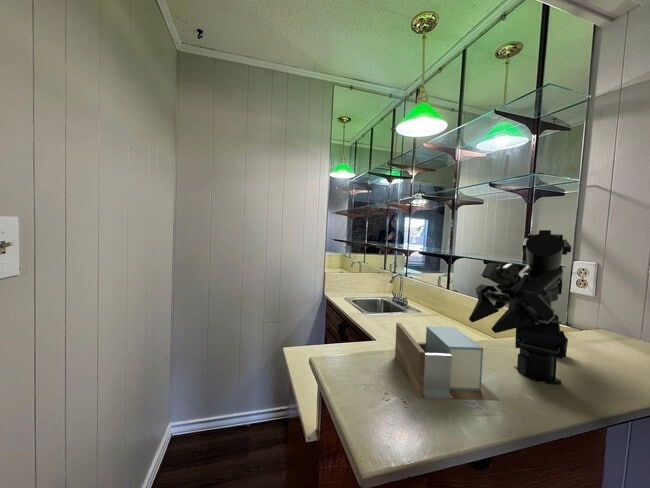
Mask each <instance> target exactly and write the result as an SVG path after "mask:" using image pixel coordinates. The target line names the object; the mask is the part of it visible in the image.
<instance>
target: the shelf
mask: <svg viewBox="0 0 650 488" xmlns="http://www.w3.org/2000/svg"><path fill="white" fill-rule="evenodd" d="M394 345H395V350H394V351H395V352H394V358H395V359H396V361H397V363H398V365H399V367H400V368H401V370H402V372H403V374H404V375H405V378H406V379H407V381H408V383H409V384H410V387H411V388H412V390H413V391H414V393H415V395H416V397H417V399H425V398H424V396H423V391H424V369H425V348H426V342H423V341H421V342H417V341H416V339H415V338H414V337H413V336H412V335H411V334H410V332H409V331H408V330H407V329H406V328H405V326H404V325H403V324H402V323H401V322H396V324H395V344H394ZM450 394H451V396H452V397H453V399H452V400H474V401H475V400H479V401H501V400H500V398H499V397H497V395H496V394H494V393H493V392H492V390H490V388H489V387H487V386H486V385H485V384H484V383H483V382H482V381H481V391H476V390H450ZM436 399H438V400H439V399H442V400H446V399H445V398H436Z"/></svg>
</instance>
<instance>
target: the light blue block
mask: <svg viewBox="0 0 650 488" xmlns="http://www.w3.org/2000/svg"><path fill="white" fill-rule="evenodd" d="M425 333H426V334H425V343H426V348H425V353H443V354H451V355H452V360H451V380H450V390H476V391H481V382H482V375H483V374H482V373H483V356H484V347H483V346H482V345H480V344H478V343H477V342H476V341H475V340H473V339H472V338H470V337H469V336H468V335H466V334H465V333H464V332H462V331H461V330H459V329H458V328H456V327H455V326H437V325H435V326H432V325H429V326H428V325H427V326H426V329H425Z"/></svg>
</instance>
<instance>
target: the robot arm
mask: <svg viewBox="0 0 650 488" xmlns="http://www.w3.org/2000/svg"><path fill="white" fill-rule="evenodd" d="M522 253H525V256H526V258H525V259H526V264H527V265H525V266H524V267H523V268H522V269H521V270H520V267H519V266H518V265H516V264H515V263H507V264H505V265H503V264H498V263H486V265H485V267H484V269H483V271H482V273H481V274H480V276H481V277H482V278H484V279H488V280H489V281H492V282H494V283H495V285H489V284H482V283H481V284H480V283H479V285H478V286H477V287H476V288H474V290H475V293H476V295H477V303H476V304H475V307H474V308H473V311H472V312H471V314H470V316H469V318H468V321H470V323H475V322H478V321H479V320H480V321H481V320H483V319H484V318H487V317H489V316H491V315H493V314H496V313H499V312H500V309H503V308H504V307H505V306H506V304H508V309H507V310H506V311H505V312H504V313H503V314H502V315H501V317H500V318H499V319H497V321H496V322H495V323H494V324H493V326H491V331H492V332H493V333H494V334H497V333H502V332H506V331H511V330H515V346H514V347H515V348H516V349H519V353H518V354H517V364H516V365H517V366H513V368H514V369H515V370H517V371H518V372H519V373H520V374H522V375H523V376H525V377H527V378H528V379H530V380H531V381H532V382H539V383H540V382H542V383H546V384H552V385H553V384H559V385H562V384H563V383H562V380H560V379H559V378H557V377H556V375H557V374H556V373H557V362H558V359H559V360H560V359H561V360H563V358H567V349H568V342H569V339H568V338H567V336H566V334H565V331H563V330H561V327H560V326H561V325H560V323H561V322H560V321H559V318H560V317H559V316H558V314H556V313H555V310H554V309H553V307H552V302H556V301H558V300H559V296H561V295H562V291H563V290H562V289H563V273H564V271H563V270H564V269H563V267H562V259H563V258H562V257H563V256H567V255H568V253H572V246H571V244H570V243H569V242H568V240H567V239H566V238H565V239H564V235H563V234H561V233H560V234H558V233H552V230H551V229H549V230H548V229H539V230H538V233H529V234H528V236H527V237H525V238H524V240H523V244H522ZM494 286H495V287H494ZM498 290H500V292H499V291H498ZM557 358H558V359H557Z"/></svg>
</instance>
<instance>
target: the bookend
mask: <svg viewBox="0 0 650 488" xmlns="http://www.w3.org/2000/svg"><path fill="white" fill-rule="evenodd" d="M451 360H452V355H451V354H443V353H425V369H424V391H423V396H424V398H423V399H437V398H445V399H444V400H454V399H453V397H452V396H451V394H450V380H451Z"/></svg>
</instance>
